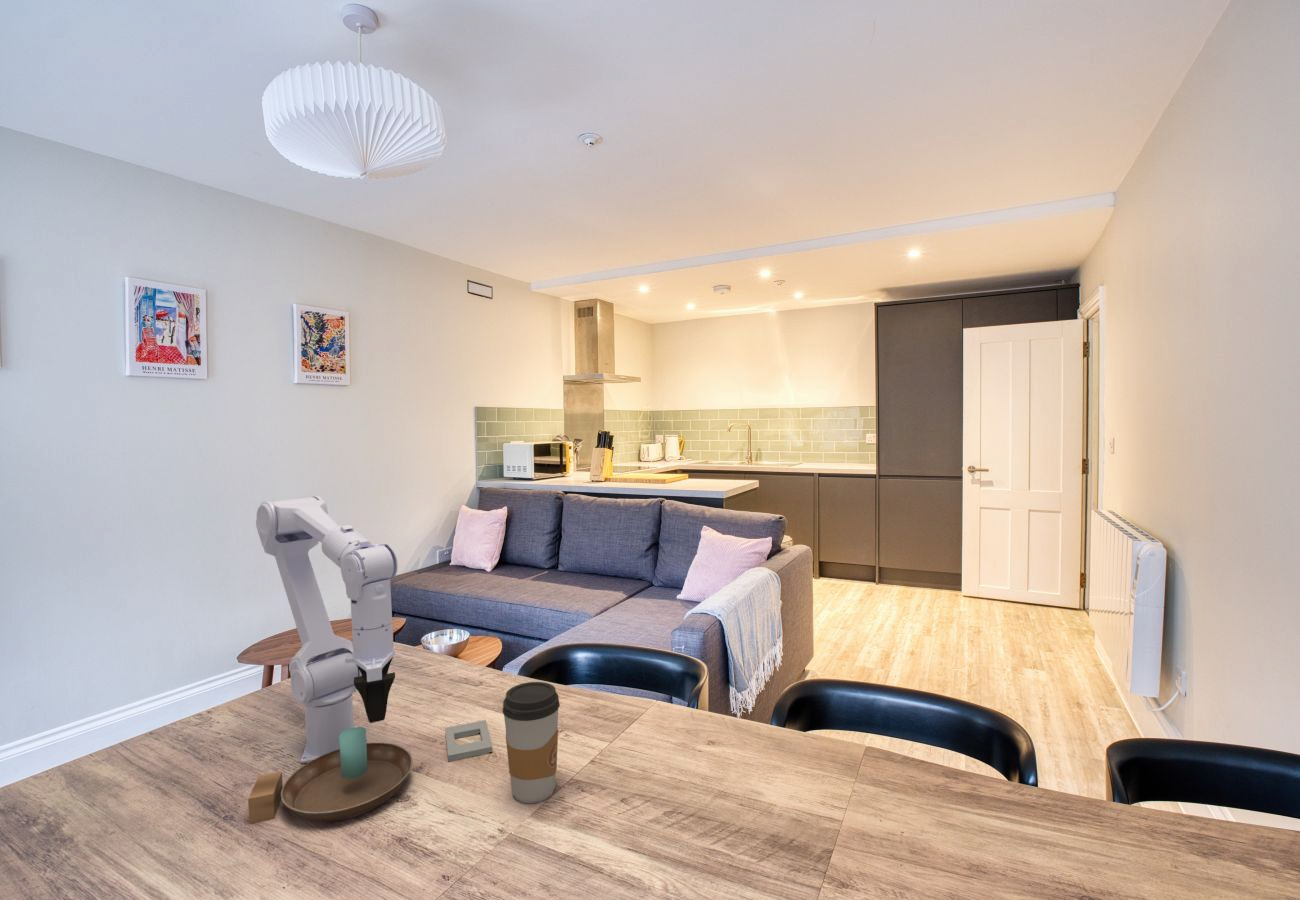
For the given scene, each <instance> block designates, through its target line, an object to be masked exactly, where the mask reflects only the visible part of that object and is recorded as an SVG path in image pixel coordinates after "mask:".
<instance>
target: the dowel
mask: <svg viewBox="0 0 1300 900" xmlns="http://www.w3.org/2000/svg"><path fill="white" fill-rule="evenodd" d="M339 740H340V762H341V777H342V778H345V779H351V778H356V777H359V776H361V775H363V774H364V773H366V771H367V770H368V767H367V744H366V743H367V730H366V728H365V727H362V726H359V727H354V728H350V729H347V730H345V731H343V732H342V733H340V735H339Z"/></svg>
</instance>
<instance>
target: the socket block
mask: <svg viewBox="0 0 1300 900" xmlns="http://www.w3.org/2000/svg"><path fill="white" fill-rule="evenodd" d="M489 731H490V730H489V728H488V724H487V720H486V719H484V720H479V721H473V722H468V723H463V724H459V725H458V724H457V725H452V726H451V725H450V726H447V727H445V739H446V740H445V741H446V752H447V762H448V761H449V762H453V761H458V760H462V759H467V758H473V757H478V756H481V755H480V754H483V755H487V754H486V753H488V754H490V753H489V752H492V753H493V745H492V739H491V735H490V732H489ZM478 733H480V734H478ZM475 734H477V735H481V736H480V739H481V740H477V741H476V740H475V741H472V742H466V743H463V744H462V743H461V744H456V739H455V738H457V739H461V738H460V737H462V738H466V737H465V736H467V737H470V736H469V735H472V736H476V735H475ZM477 755H478V756H477ZM472 756H473V757H472Z"/></svg>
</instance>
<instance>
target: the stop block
mask: <svg viewBox="0 0 1300 900" xmlns="http://www.w3.org/2000/svg"><path fill="white" fill-rule="evenodd" d="M283 785H284V784H283V771H282V770H281V771H277V772H272V773H267V774H261V775H258V777H257V778H256V781H255V783H254V785H253V788H252V790H251V792H250V793H249V797H248V799H247V801H248V803H247V804H248V824H253V823H258V822H263V821H267V820H273V819H275V818H276V815H277V812H278V810H279V806H280V803H281V802H282V799H281V790H282V788H283Z"/></svg>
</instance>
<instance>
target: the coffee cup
mask: <svg viewBox="0 0 1300 900" xmlns="http://www.w3.org/2000/svg"><path fill="white" fill-rule="evenodd" d="M559 698H560V697H559V694H558V693H557V690H556V687H555V685H553V684H551V683H549V682H548V683H547V682H545V681H544V682H542V681H531V682H524V683H519V684H516V685H515V686H513V687H511V688H509V689H508V690H507V691H506V693H505V698H504V700H503V701H502V714H503V715H504V717H503V718H504V726H505V727H504V729H505V741H506V751H507V752H506V753H507V754H506V755H507V762H508V770H509V771H508V773H509V775H510V786H511V793H512V794H513V796H514V799H515V800H517V802H520V803H524V804H536V803H539V802H543V801H544V800H547V799H549V798H550V796H552V794H553V792H554V790H555V788H556V778H557V767H558V764H557V763H558V740H559V738H558V737H559V729H558V728H559V727H558V725H559V723H558V721H559V708H560V699H559Z"/></svg>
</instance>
